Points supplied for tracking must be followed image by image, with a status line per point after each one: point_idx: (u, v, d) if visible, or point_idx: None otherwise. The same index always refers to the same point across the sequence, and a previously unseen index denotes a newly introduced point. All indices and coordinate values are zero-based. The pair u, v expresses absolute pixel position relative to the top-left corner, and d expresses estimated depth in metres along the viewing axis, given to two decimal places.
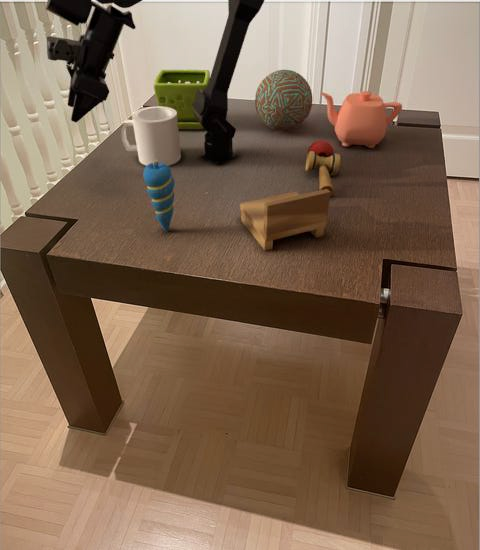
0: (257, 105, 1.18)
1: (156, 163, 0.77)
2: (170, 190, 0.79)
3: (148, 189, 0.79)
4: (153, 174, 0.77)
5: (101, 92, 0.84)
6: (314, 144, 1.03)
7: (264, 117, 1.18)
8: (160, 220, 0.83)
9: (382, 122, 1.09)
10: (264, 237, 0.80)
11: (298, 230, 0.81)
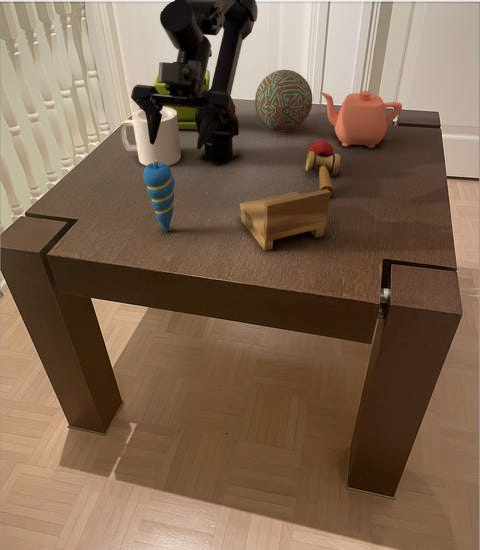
0: (257, 105, 1.18)
1: (156, 163, 0.77)
2: (170, 190, 0.79)
3: (148, 189, 0.79)
4: (153, 174, 0.77)
5: (234, 111, 0.84)
6: (314, 144, 1.03)
7: (264, 117, 1.18)
8: (160, 220, 0.83)
9: (382, 122, 1.09)
10: (264, 237, 0.80)
11: (298, 230, 0.81)
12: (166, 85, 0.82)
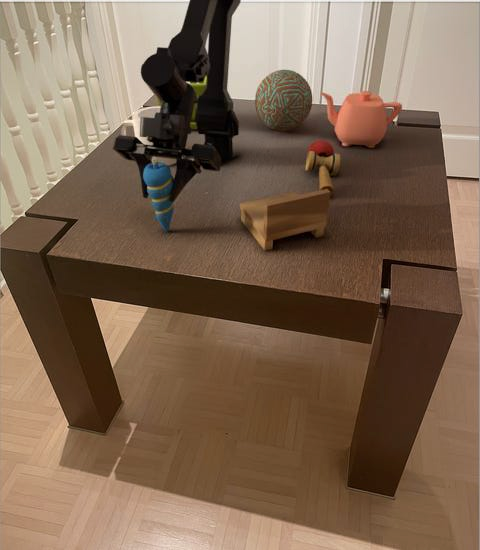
0: (257, 105, 1.18)
1: (156, 163, 0.77)
2: (170, 190, 0.79)
3: (148, 189, 0.79)
4: (152, 174, 0.77)
5: (219, 162, 0.81)
6: (314, 144, 1.03)
7: (264, 117, 1.18)
8: (160, 220, 0.83)
9: (382, 122, 1.09)
10: (264, 237, 0.80)
11: (298, 230, 0.81)
12: (149, 137, 0.79)
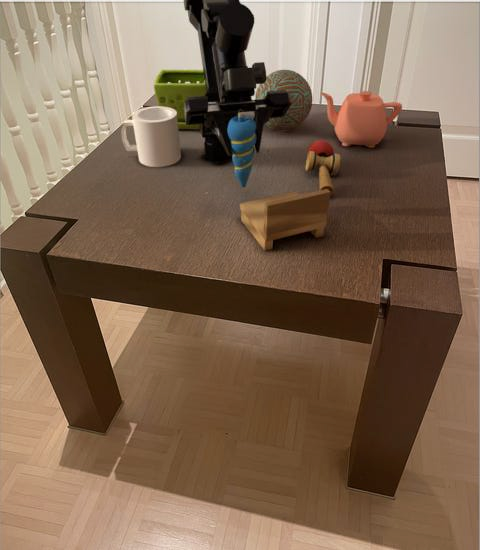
0: None
1: (242, 115, 0.78)
2: (255, 141, 0.81)
3: (236, 144, 0.79)
4: (245, 126, 0.77)
5: None
6: (314, 144, 1.03)
7: None
8: (243, 175, 0.84)
9: (382, 122, 1.09)
10: (264, 237, 0.80)
11: (298, 230, 0.81)
12: (223, 93, 0.78)
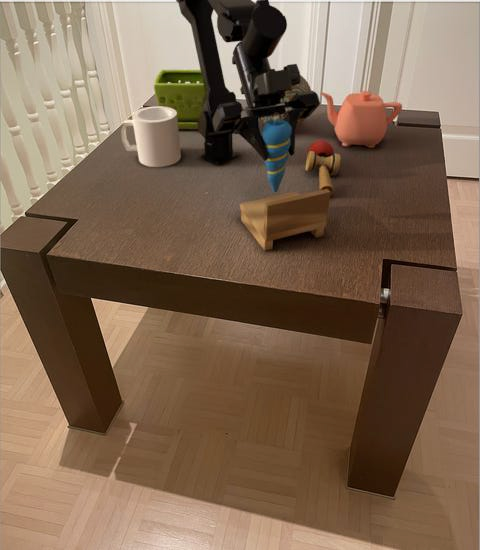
0: None
1: (278, 119, 0.77)
2: None
3: (273, 148, 0.78)
4: (283, 129, 0.76)
5: None
6: (314, 144, 1.03)
7: (264, 117, 1.18)
8: (277, 180, 0.83)
9: (382, 122, 1.09)
10: (264, 237, 0.80)
11: (298, 230, 0.81)
12: (256, 97, 0.77)
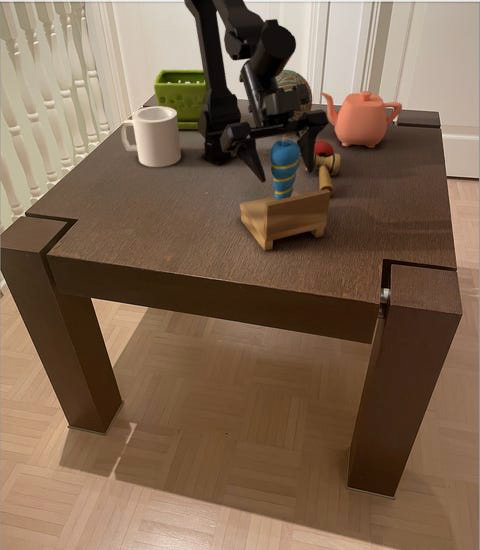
0: None
1: (287, 140, 0.76)
2: None
3: (281, 169, 0.77)
4: (292, 151, 0.75)
5: None
6: None
7: None
8: None
9: (382, 122, 1.09)
10: (264, 237, 0.80)
11: (298, 230, 0.81)
12: (264, 117, 0.76)
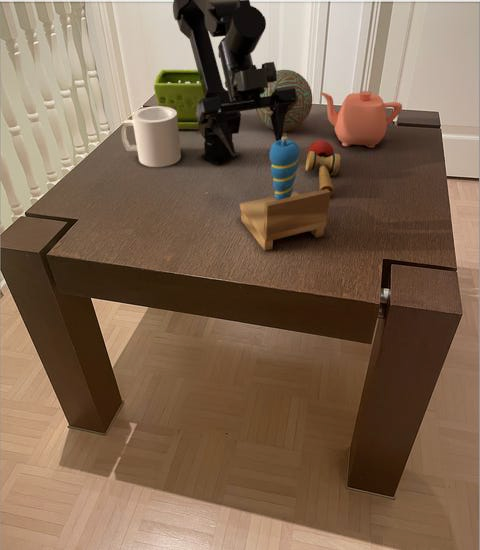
0: None
1: (286, 140, 0.76)
2: None
3: (281, 169, 0.77)
4: (291, 150, 0.75)
5: None
6: (314, 144, 1.03)
7: (264, 117, 1.18)
8: None
9: (382, 122, 1.09)
10: (264, 237, 0.80)
11: (298, 230, 0.81)
12: (235, 92, 0.82)
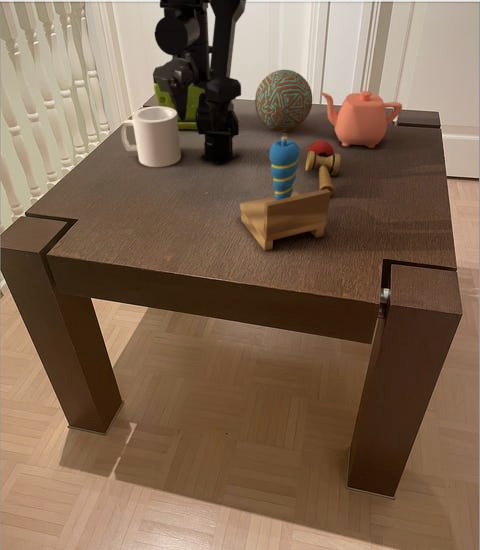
0: (257, 105, 1.18)
1: (286, 140, 0.76)
2: None
3: (281, 169, 0.77)
4: (291, 150, 0.75)
5: (238, 89, 0.83)
6: (314, 144, 1.03)
7: (264, 117, 1.18)
8: None
9: (382, 122, 1.09)
10: (264, 237, 0.80)
11: (298, 230, 0.81)
12: None
